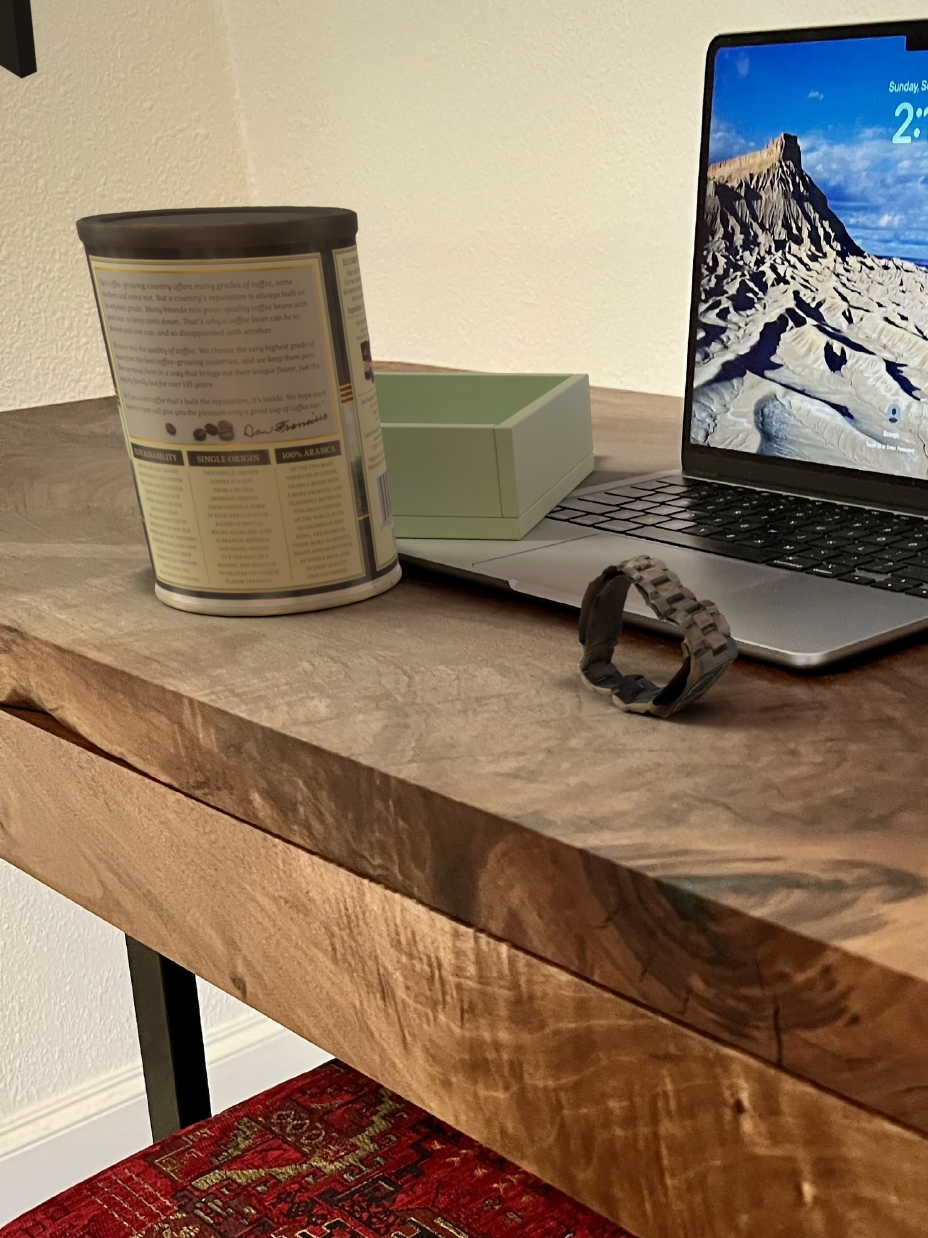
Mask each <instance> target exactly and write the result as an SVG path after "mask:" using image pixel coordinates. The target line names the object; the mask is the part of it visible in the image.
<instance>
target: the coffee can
mask: <svg viewBox="0 0 928 1238" xmlns="http://www.w3.org/2000/svg"><path fill="white" fill-rule="evenodd" d="M75 226H76V227H75V228H76V231H77V232H76V233H77V235H78V239H79V241H80V242H81V243H82V245H83V248H84V254H85V258H86V263H87V267H88V272H89V275H90V281H91V286H92V291H93V296H94V300H95V304H96V309H97V314H98V319H99V323H100V328H101V329H100V330H101V333H102V339H103V342H104V343H103V344H104V348H105V352H106V357H107V361H108V366H109V371H110V375H111V380H112V384H113V389H114V393H115V398H116V403H117V409H118V412H119V417H120V421H121V426H122V432H123V435H124V441H125V445H126V446H125V447H126V450H127V456H128V461H129V465H130V469H131V474H132V478H133V479H132V480H133V484H134V489H135V495H136V499H137V504H138V508H139V512H140V517H141V518H140V519H141V524H142V527H143V532H144V538H145V541H146V545H147V551H148V555H149V561H150V564H151V565H150V566H151V568H152V573H153V577H154V581H155V584H154V593H155V595H156V598H157V599H158V600H159V602H161V603H162V604H163V605H166V606H168V607H171V608H173V609H175V610H180V611H184V612H189V613H196V614H203V615H211V616H224V617H225V616H226V617H236V616H237V617H238V616H239V617H241V616H242V617H243V616H244V617H245V616H246V617H247V616H248V617H251V616H252V617H253V616H254V617H255V616H257V617H258V616H260V617H261V616H262V617H263V616H264V617H265V616H273V615H275V616H276V615H286V614H295V613H305V612H313V611H319V610H325V609H331V608H334V607H340V606H344V605H348V604H352V603H355V602H360V601H364V600H366V599H369V598H372V597H375V596H377V595H380V594H383V593H385V592H387V591H388V590H391V589H392V588H394V586H395V585H397V584H398V582H399V581H400V580H401V578H402V574H403V573H402V567H401V565H400V562H399V553H398V548H397V541H396V540H397V539H396V537H395V532H394V524H393V516H392V508H391V500H390V493H389V484H388V476H387V469H386V462H385V455H384V448H383V440H382V433H381V425H380V418H379V411H378V403H377V396H376V388H375V380H374V372H375V371H374V367H373V366H374V365H373V358H372V351H371V341H370V333H369V326H368V320H367V313H366V306H365V298H364V289H363V282H362V281H363V280H362V275H361V267H360V259H359V254H358V253H359V251H358V244H357V234H358V233H359V221H358V213H357V212H356V211H355V210H352V209H349V208H344V207H337V206H334V207H333V206H311V205H310V206H309V205H307V206H302V205H301V206H298V205H297V206H296V205H266V206H263V205H255V206H251V205H250V206H249V205H247V206H246V205H245V206H211V207H210V206H209V207H202V206H201V207H199V206H198V207H182V208H160V209H159V208H158V209H150V210H149V209H148V210H135V211H134V210H133V211H131V210H130V211H129V210H128V211H120V212H110V213H101V214H94V215H93V214H92V215H87V216H83V217H81V218H79V219H77V220H75Z"/></svg>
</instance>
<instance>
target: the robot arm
mask: <svg viewBox="0 0 928 1238" xmlns="http://www.w3.org/2000/svg"><path fill="white" fill-rule="evenodd" d="M33 25H34V23H33V14H32V5H31V0H0V67H1V68H3V69H5V70H6V71H9V73H11V74H13V75H15V76H16V77H18V78H20V79H24V78H27V77H29V76H31V75H33V74H35V73H38V63H37V56H36V46H35V45H36V43H35V35H34V26H33Z"/></svg>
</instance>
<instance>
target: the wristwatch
mask: <svg viewBox="0 0 928 1238" xmlns="http://www.w3.org/2000/svg"><path fill="white" fill-rule="evenodd" d="M632 584H633V586H634V587H635V589H636V590H637V591H638V593H639V594H640V595H641V597H642V599H643V600H644V602H645V606H647V607H649V608H650V610H652V611H653V612H654V614H655V616H656V617H657V619H658V620H659V622H663V621H664V622H666V623H667V624H668V625H672V626H673V627H675V628H678V629H679V628H680V629H682V630H683V637H684V640H683V641H682V642H681V643H680V646H681V651H682V654H683V655H682V656H683V658H682V665H681V666H680V668H679V669H678V671H677V672H676V674H674V676H673V677H672V678H671V679H670V680H669V681H668V683H667V684H666V685H665V686H661V687H660V686H658V685H656V683H654V682H652V681H651V680H649V679H647V678H646V677H645V676H644V674H640V673H633V674H631V673H630V674H625V675H623V674H622V673H621V671H620V670H619V669H618V667H617V666H616V664H614V663H613V662H612V659H613V655H614V653H615V646H618V644H619V637H621V635H622V631H623V628H624V621H623V615H624V609H625V604H626V600H627V597H628V593H629V590H630V588H631V586H632ZM577 629H578V630H577V631H578V632H577V634H578V636H577V639H578V640H577V641H578V643H580V644H581V646H582V654H580V655H579V656H578V659H577V663H576V664H575V665H576V672H577V674H578V675H579V676H580V677H581V680H582V682H583V685H584V686H585V687H586V688H587V689H588V691H589V692H592V693H596V694H599V695H601V696H605V697H611V696H612V699H611V700H612V703H613V704H614V705H615V706H616V707H617V709H618V710H620V711H623V712H626V711H628V710H630V711H631V712H637V713H641V714H643V713H644V714H645V713H647V712H650V713H651V714H653V715H656V716H658V717H662V718H668V717H670V716H673V715H674V714H676V713H679V712H680V711H683V710H684V709H686V708H687V707H689V706H690V705H691V704H692V703H694V702H697V701H698V700H700V699H701V698H702V697H703V696H704V695H705V694H706V693H707V692H708V691H709V690H710V689H711V688H712V687H713V686H714V685H715V684H716V683H717V682H718V681H719V680H720V679H721V678H722V677H723V675H724V674H725V673H726V671H727V670H729V668H730V667H731V666H732V664H733V663H734V662H735V661H736V659H737V658H738V656H739V652H738V644H737V640H736V639H735V638H734V637H733V636H732V633H731V632H732V631H731V624H729V622H728V620H727V619H726V617H725V614H723V613H721V612H719V608H718V605H717V603H715V602H713V601H712V600H709V599H702V600H698V599H697V597H696V595H695V594H694V592H692V590H690V589H689V588H688V587H687V586H686V587H685V586H683V584H682V582H681V579H680V578H679V576H678V575H677V573H676V572H674V571H673V570H671V569H669V568H668V566H667V564H665V562H664V561H662V560H661V559H659V558H657V557H652V558H651V556H650V555H648V554H641V555H636V556H635V557H632V558H631V559H626V560H623V561H617V562H614V563H611V564H610V565H609V566H607V567H605V568H604V569H603V570H602V572H601V574H600V575H598V576H597V577H595V578H594V580H591V581H589V582H588V585H587V588H586V589H585V592H584V594H583V597H582V600H581V604H580V613H579V616H578V624H577Z"/></svg>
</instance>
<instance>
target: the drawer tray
mask: <svg viewBox="0 0 928 1238" xmlns="http://www.w3.org/2000/svg"><path fill="white" fill-rule="evenodd" d="M373 372H374V380H375V388H376V396H377V403H378V411H379V418H380V425H381V433H382V440H383V448H384V455H385V462H386V469H387V476H388V484H389V493H390V500H391V508H392V516H393V524H394V532H395V538H410V539H411V538H414V539H415V538H416V539H459V540H460V539H462V540H463V539H464V540H465V539H470V540H512V541H513V540H514V541H515V540H516V541H517V540H522V539H523V538H524V537H525V536H526V535H527V534H528V533H529V532H530V531H531V530H533V528H534V527H536V526H537V525H538V524H539V523H540V521H542V520H543V519H544V518H545V517H546V516H548V514H549V513H550V512H551V511H552V510H553V509H554V508H556V507H557V505H559V504H560V503H561V502H562V501H563V500H564V499H565V498H566V497H567V496H569V494H570V493H571V492H572V491H573V490H575V489H576V488H577V487H578V486H579V485H580V484H581V482H583V481H584V480H585V479H586V478H587V477H588V476H589V475H590V474H591V473H592V472H594V470H595V468H596V467H595V453H594V439H593V438H594V437H593V436H594V435H593V423H592V406H591V405H592V404H591V389H590V376H589V373H567V372H565V373H560V372H559V373H558V372H557V373H554V372H553V373H551V372H547V373H546V372H455V371H454V372H453V371H452V372H449V371H448V372H445V371H443V372H442V371H441V372H440V371H439V372H438V371H437V372H434V371H373Z"/></svg>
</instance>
